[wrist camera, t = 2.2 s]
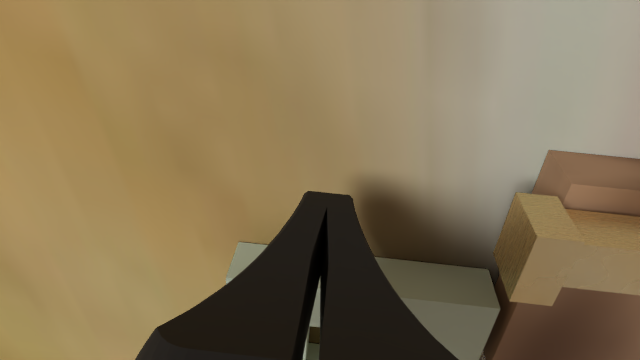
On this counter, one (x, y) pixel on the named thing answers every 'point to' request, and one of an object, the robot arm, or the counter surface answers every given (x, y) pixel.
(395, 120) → the counter surface
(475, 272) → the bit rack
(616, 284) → the bar
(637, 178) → the socket block
